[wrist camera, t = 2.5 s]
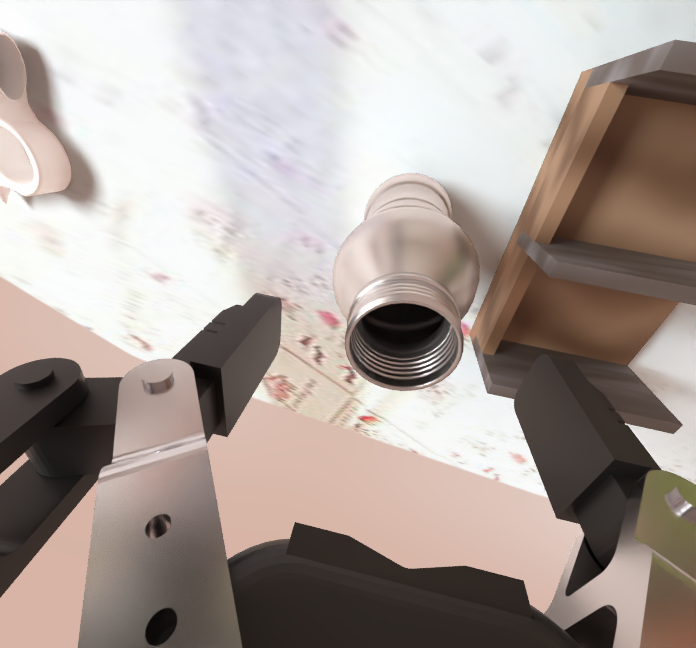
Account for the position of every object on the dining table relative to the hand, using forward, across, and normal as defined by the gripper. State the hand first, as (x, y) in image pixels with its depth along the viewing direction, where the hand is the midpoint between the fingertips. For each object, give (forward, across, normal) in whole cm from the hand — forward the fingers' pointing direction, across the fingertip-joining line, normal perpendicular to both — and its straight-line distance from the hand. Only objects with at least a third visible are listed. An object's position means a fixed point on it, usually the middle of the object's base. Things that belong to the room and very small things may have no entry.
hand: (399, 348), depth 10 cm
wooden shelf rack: (+20, -16, 0) cm, 26 cm away
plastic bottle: (+20, 0, 0) cm, 20 cm away
